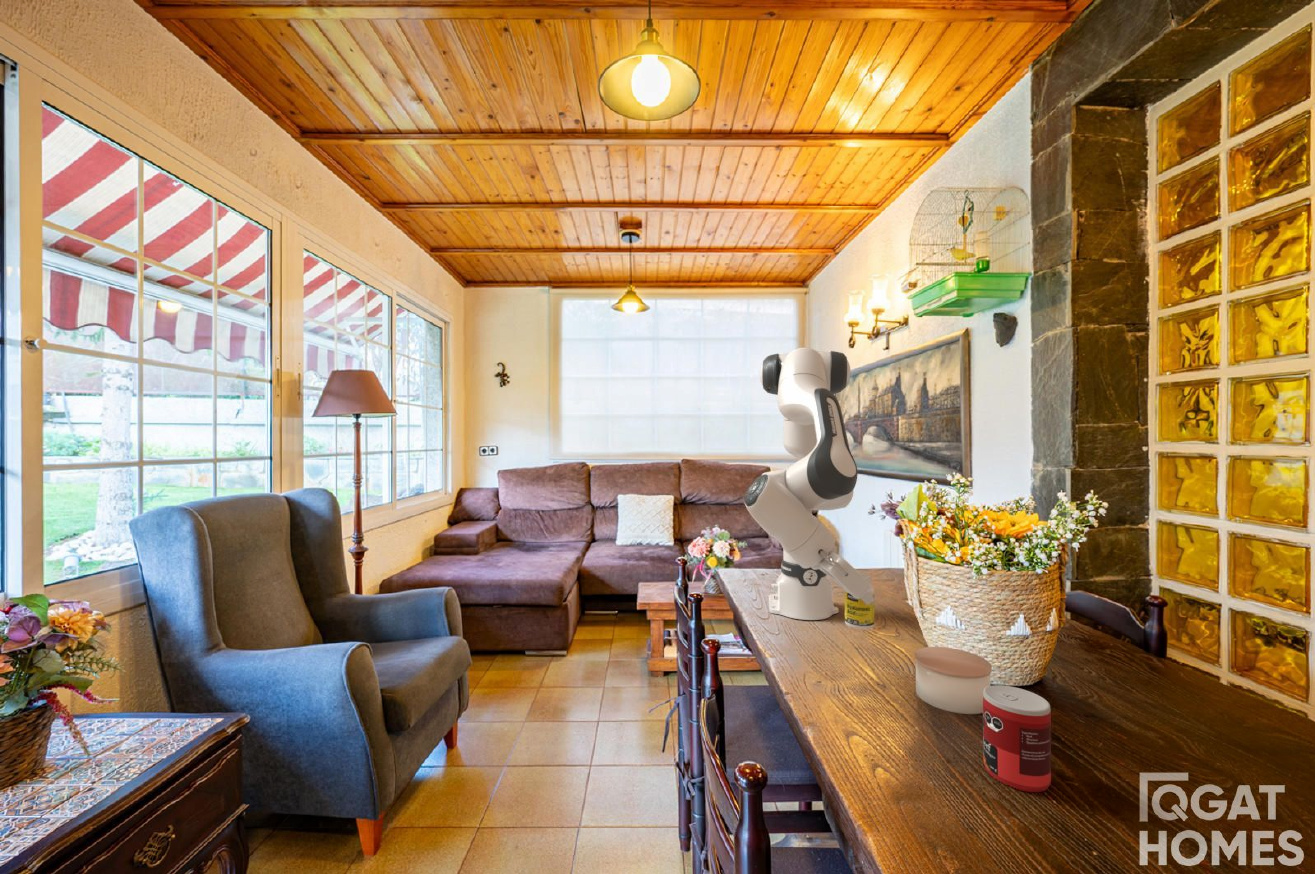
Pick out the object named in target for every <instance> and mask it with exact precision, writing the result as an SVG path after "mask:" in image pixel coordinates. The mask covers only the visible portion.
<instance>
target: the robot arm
mask: <svg viewBox="0 0 1315 874" xmlns="http://www.w3.org/2000/svg"><path fill="white" fill-rule="evenodd" d="M850 378H851V364H850V363H849V360H848V357H847V356H846V355H845V353H843V352H839V351H835V350H831V351H830V352H828V351H820V350H815V349H814V348H811V347H798V348H795V349H793V350H791V351H789V352H787V353H781V354H779V353H775V354H770V355H768V356H766V358H765V357H764V360H763V361H762V364H761V366H760V370H759V380H760V383H761V385H762V388H763V389H762V390H764V391H765V392H766V393H768V394H771V395H775V396H776V395H777V406H778V409H779V412H780V414H781V415H782V416H783V436H782V437H783V438H782V439H783V441H782V442H783V447H784V449H785V451H786V452H788V453H789V454H790V455H791V456H794V457H796V458H797V459H799V460H797V461H796V462H794V463H792V464H790V465H788V466H787V467H785V468H783V469H777V470H772V471H771V470H770V471H766V472H763V473H762V474H761V475H760V476H759V477H757V478H756V479H755V480H754V481H753V482H752V483H751V484H750V486H749V487H748V488H747V490H746V492H745V495H744V500H743V502H744V503H743V504H744V505H745V507H746V511H748V513H749V514H750V516H751V517H752V518H753V520H754V521H755V522H756V523H757V524H758V525H759V526H760V527H761V528H762V529H763V531H765V532H766V534H768V535H769V536H771V538H774V539H775V540H776V541H778V542H779V544H780V546H781V547H782V550H783V551H782V552H783V557H782V558H781V564H780V572H781V573H780V574H779V576H778V577H777V579H776V580H775V581H776V582H775V583H770V592H771V594H768V609H769V613H771V614H776V615H781V616H784V617H787V618H791V619H797V620H805V621H818V620H826V619H828V618H830V617H831V616H832V615H834V614H835V615H836V614H838V613H839V612H840V609H839V607H837V606H835V605H834V596H833V595H834V592H833V583H832V581H834V582H835V583H836V584H837V585H838V586H840V587H841V588H842V589H843V590H844V591H845V590H846V591H847V592H848V593H849V594H851V595H852V596H853V597H854V598H856V599H861V600H862V601H863V602H864V603H865V604H867V605H870V604H871V603H872V602H873V600H874V598H873V597H872V596H871V595H870V594H869V593H868V590H869V589H870V587H871V586H872V585H871V583H870V584H869V582H868V581H867V580H866V579H865V578H864V577H863V576H862V575H861V574H860V573H859V572H860V571H858V570H857V569H856V568H855V567H854V566H853V565H852V564H850V563H849V562H848V561H847V560H846V559H845V558H844V557H842V556H841V555H839V554H838V553H837V551H838V547H837V545H835V544H836V542H837V541H836V540H837V537H836V535H835V534H834V533H833V532H832V530H830V529H829V527H827V526H826V525H825V524H824V523H823V522H822V521H821V520H820V519H819V518H818V517H816V516H815V515H813V511H834V510H838V509H839V510H840V509H845V508H846V507H848V505H850V503H851V501H852V499H853V497H854V489H855V487H856V485H857V482H858V475H859V472H858V466H857V463H856V461H855V459H854V457H853V454H852V452H851V449H850V444H849V440H848V436H847V435H848V434H847V430H846V426H845V421H844V417H843V411H842V409H841V405H840V402H839V400H838V398H837V396H836V394H839V393H841V392H842V391H843V390H844V389H846V388H847V385H848V383H849V381H850ZM827 576H828V577H829V578H830V579H831V580H832V581H831V580H830V579H829V578H828V577H827Z"/></svg>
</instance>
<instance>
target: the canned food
mask: <svg viewBox="0 0 1315 874" xmlns="http://www.w3.org/2000/svg"><path fill="white" fill-rule="evenodd" d="M1051 710H1052V709H1051V704H1050V702H1049V701H1047V699H1045V698H1044V697H1042V696H1040V695H1039V694H1036V693H1034V692H1033V691H1029V690H1026V689H1023V688H1021V687H1020V688H1019V687H1016V686H1011V685H1003V684H1002V685H1001V684H1000V685H999V684H997V685H994V684H993V685H990V686H988V687H986V688H985V689H984V690H983V713H982V751H983V752H982V753H983V754H982V756H983V757H982V758H983V759H982V761H983V764H984V768H985V770H986V771H988V772H987V773H988V774H989V775H990V776H991V777H992V776H993V777H992V778H994V779H995V780H996V779H997V780H996V781H998V782H999V781H1000V783H1001V782H1002V783H1001V784H1003V785H1005V786H1007V785H1009V786H1010V787H1009V786H1008V787H1009V788H1012V787H1013V789H1015V788H1016V790H1018V789H1019V790H1018V791H1023V792H1028V793H1040V792H1044V791H1046V790H1048V789H1049V787H1050V785H1051V782H1052V717H1051V716H1052V715H1051V712H1052V711H1051Z"/></svg>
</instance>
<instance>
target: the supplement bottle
mask: <svg viewBox="0 0 1315 874" xmlns="http://www.w3.org/2000/svg"><path fill="white" fill-rule="evenodd" d="M858 572H859V573H860V574H861V575H862V576H863V577H864V578H865V579H866V580H867V581H868V582H869V584H870V586H871V587H870V589H869V590H868V593H869V594H870V595H871V596H872V597H873V598H874V600H873V602H872V603H871V604H870V605H867V604H865V603H864V602H863V601H862V600H861V599H856V598H854V597H853V596H852V595H851V594H849V593H848V592H847V591H846V590H845V589H844V624H845V625H846V626H847V627H850V628H853V629H857V630H870V629H873V628H874V627H875V610H876V609H875V607H876V606H875V605H876V604H875V600H876V599H875V598H876V596H875V589H874V587H873V586H872V585H871V583H872V581H871V580H872V578H871V574H870V573H866V572H862V571H861V572H860V571H858Z"/></svg>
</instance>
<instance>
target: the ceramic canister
mask: <svg viewBox="0 0 1315 874" xmlns="http://www.w3.org/2000/svg"><path fill="white" fill-rule="evenodd" d="M914 660H915V693H916V696H917V697H919V699H921V700H922V701H923V702H924V703H926V704H928V705H930V706H932V707H934V708H937V709H940V710H943V711H947V712H949V713H955V714H956V713H957V714H964V715H965V714H966V715H977V714H983V690H984V689H985V688H986V687H988V686H991V673H992V668H993V667H992V664H991V663H990V661H988V660H987V659H985V658H983V657H982V656H980V655H978V654H976V653H972V652H970V651H966V650H962V649H957V648H952V647H944V646H926V647H925V646H924V647H922V648H918V649H917V650H915V652H914Z"/></svg>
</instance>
